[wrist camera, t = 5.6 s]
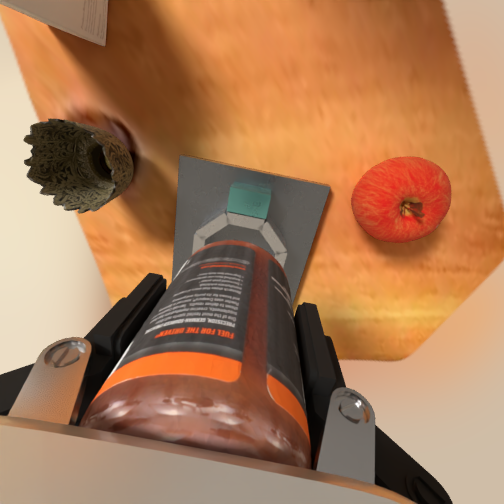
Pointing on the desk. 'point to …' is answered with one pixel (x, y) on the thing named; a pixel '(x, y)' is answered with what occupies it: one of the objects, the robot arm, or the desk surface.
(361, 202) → the apple
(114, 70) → the desk surface
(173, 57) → the desk surface
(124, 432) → the supplement bottle
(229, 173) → the hub plate
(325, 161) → the desk surface
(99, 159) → the cup
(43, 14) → the skincare box
